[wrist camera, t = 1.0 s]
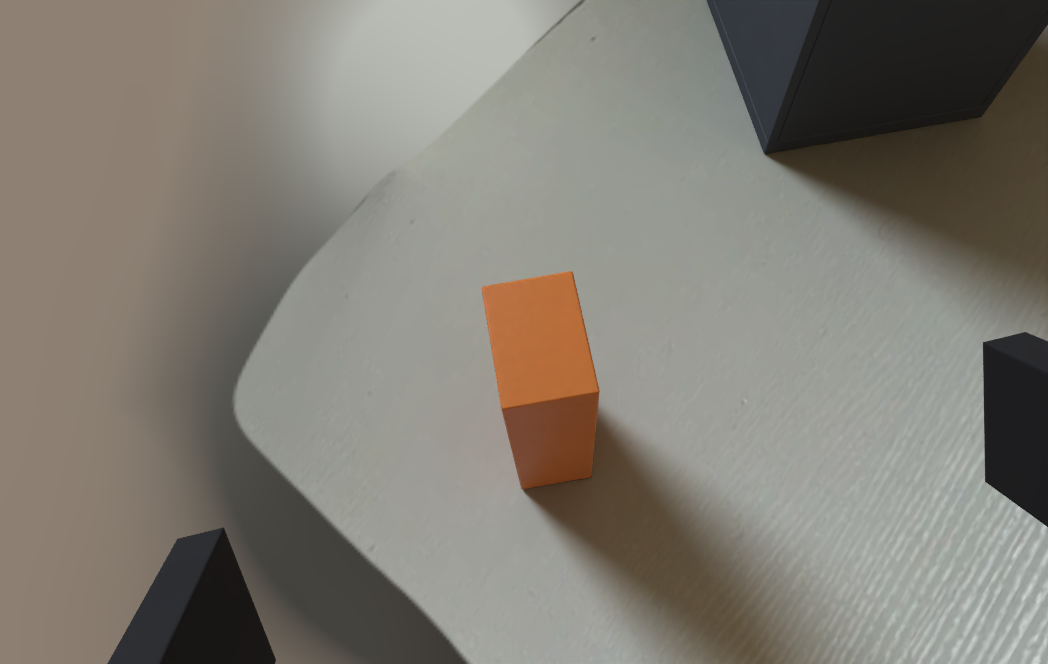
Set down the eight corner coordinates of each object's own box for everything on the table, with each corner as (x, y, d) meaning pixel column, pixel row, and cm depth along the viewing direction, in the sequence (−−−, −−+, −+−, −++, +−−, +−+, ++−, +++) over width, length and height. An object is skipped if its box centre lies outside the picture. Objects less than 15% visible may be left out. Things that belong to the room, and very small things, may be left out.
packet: (521, 489, 38) (501, 410, 27) (505, 395, 40) (481, 286, 29) (591, 477, 38) (599, 392, 27) (572, 383, 40) (572, 270, 29)
